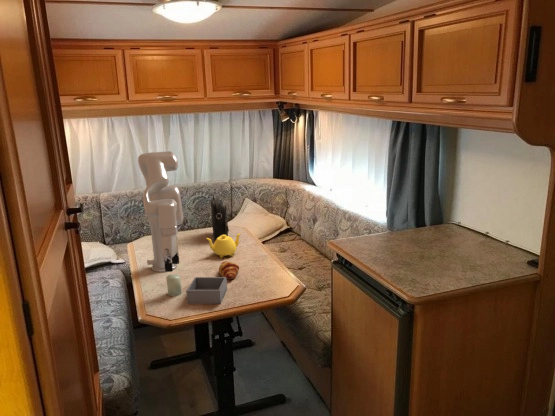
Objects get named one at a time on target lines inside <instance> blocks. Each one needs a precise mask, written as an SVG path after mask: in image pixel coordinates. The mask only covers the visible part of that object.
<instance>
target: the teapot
mask: <svg viewBox="0 0 555 416" xmlns="http://www.w3.org/2000/svg"><path fill="white" fill-rule="evenodd" d="M241 234H242V232H239V233H237V235H236V237H235V240H234V238H232V237H231V236H229V235H228V236H226V235H222V236H220V237H218V238H217V239H216V241H214V243H213V241H212V239H211V238H209V237H206V238H205V239H206V240H208V243H209V249H210V250H211V251H212V252H213V253H214V254H215V255H216V256H219V258H220V259H223V258H224V257H226V256H229V257H233V256H234V254H235V252H236V251H237V247H238V246H239V244H240V235H241Z"/></svg>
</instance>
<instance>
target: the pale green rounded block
mask: <svg viewBox="0 0 555 416" xmlns="http://www.w3.org/2000/svg"><path fill="white" fill-rule="evenodd" d="M165 278H166V287H167V293H168V294H167V295H168V296H170V297H177V296H179V295H181V294H182V283H181V282H182V281H181V275H180V274H177V273H174V274H170V275H167V276H166V277H165Z"/></svg>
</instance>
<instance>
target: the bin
mask: <svg viewBox="0 0 555 416" xmlns="http://www.w3.org/2000/svg"><path fill="white" fill-rule="evenodd" d="M227 280H228V279H226V277H223V276H195V277H194V278H193V280H192V281H191V282H190V284H189V286H188V287H187V289H186V292H185V293H186V302H187V303H186V304H206V305H207V304H209V305H210V304H211V305H212V304H215V305H216V304H219V305H220V304H222V302H223V299H224V298H225V295H226V293H227V291H228V282H227Z"/></svg>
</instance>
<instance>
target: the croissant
mask: <svg viewBox="0 0 555 416" xmlns="http://www.w3.org/2000/svg"><path fill="white" fill-rule="evenodd" d="M239 270H240V266H239V264H237V263H235V262H232V261H227V260H224V261H222V262H221V263H220V265H219V267H218V273H219V274H220V277H226V279H227V280H232V279H235V278H236V277H237V275H238V274H239V273H238V272H239Z"/></svg>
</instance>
